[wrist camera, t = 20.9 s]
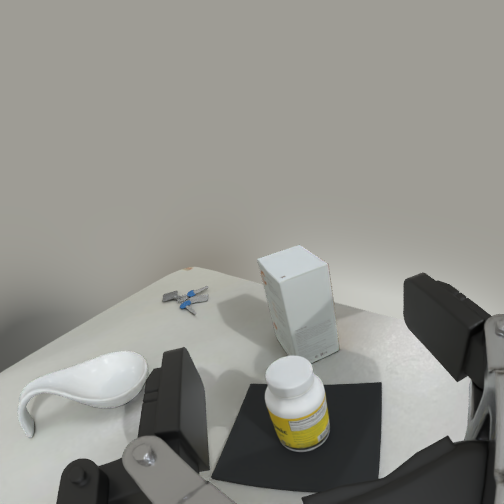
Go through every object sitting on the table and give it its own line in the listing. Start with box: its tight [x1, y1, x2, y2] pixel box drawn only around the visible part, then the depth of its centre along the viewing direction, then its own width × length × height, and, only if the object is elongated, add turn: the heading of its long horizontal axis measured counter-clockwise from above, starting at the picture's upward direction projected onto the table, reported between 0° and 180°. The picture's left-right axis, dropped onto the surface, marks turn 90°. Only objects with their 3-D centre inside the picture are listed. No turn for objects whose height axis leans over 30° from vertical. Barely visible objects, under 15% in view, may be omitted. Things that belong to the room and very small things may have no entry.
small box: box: [257, 245, 339, 363], centre depth 40 cm, size 8×6×13 cm
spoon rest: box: [18, 351, 148, 438], centre depth 37 cm, size 24×12×7 cm, turn 123°
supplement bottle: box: [265, 356, 330, 452], centre depth 27 cm, size 5×5×10 cm
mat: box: [211, 382, 382, 493], centre depth 29 cm, size 16×14×1 cm
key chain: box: [162, 286, 208, 314], centre depth 63 cm, size 14×8×1 cm, turn 47°
